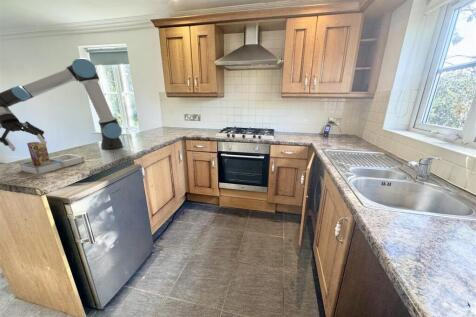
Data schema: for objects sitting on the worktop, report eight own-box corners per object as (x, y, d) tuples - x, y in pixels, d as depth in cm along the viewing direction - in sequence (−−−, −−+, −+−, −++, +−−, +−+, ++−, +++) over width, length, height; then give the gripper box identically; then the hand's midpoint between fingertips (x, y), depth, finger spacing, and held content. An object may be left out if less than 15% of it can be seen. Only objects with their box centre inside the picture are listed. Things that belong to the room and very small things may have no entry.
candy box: (53, 168, 112) (46, 143, 107) (43, 171, 108) (36, 144, 103) (43, 166, 115) (36, 141, 110) (33, 168, 111) (26, 142, 106)
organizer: (69, 158, 130) (68, 152, 128) (84, 161, 125) (83, 155, 124) (21, 170, 108) (19, 163, 107) (37, 174, 104) (35, 167, 102)
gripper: (32, 119, 121) (54, 145, 121) (-31, 124, 98) (-3, 156, 98) (35, 111, 118) (58, 138, 118) (-29, 114, 95) (-1, 147, 95)
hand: (30, 146), depth 108 cm, fingers open, 13 cm apart
